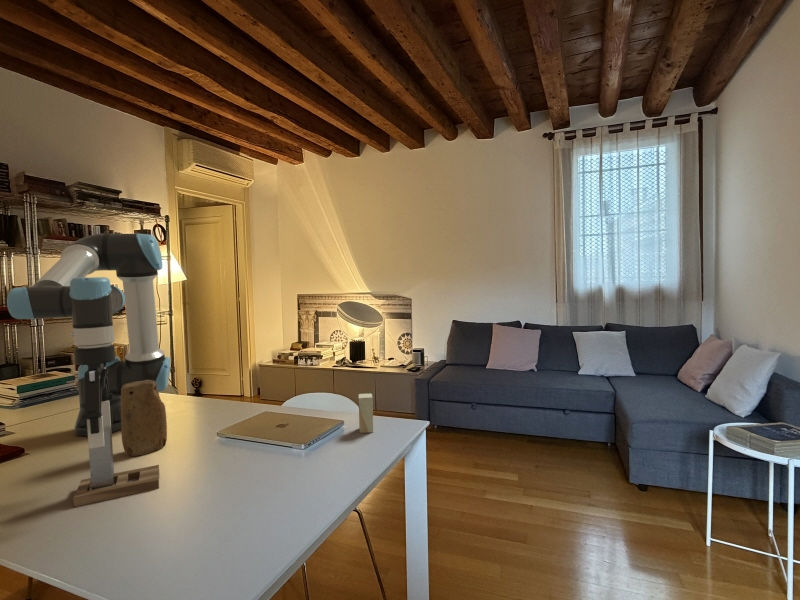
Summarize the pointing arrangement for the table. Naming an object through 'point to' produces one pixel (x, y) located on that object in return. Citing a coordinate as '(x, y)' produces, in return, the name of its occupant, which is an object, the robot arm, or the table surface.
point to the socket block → (119, 485)
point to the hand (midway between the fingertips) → (100, 437)
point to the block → (142, 418)
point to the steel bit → (102, 462)
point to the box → (365, 413)
